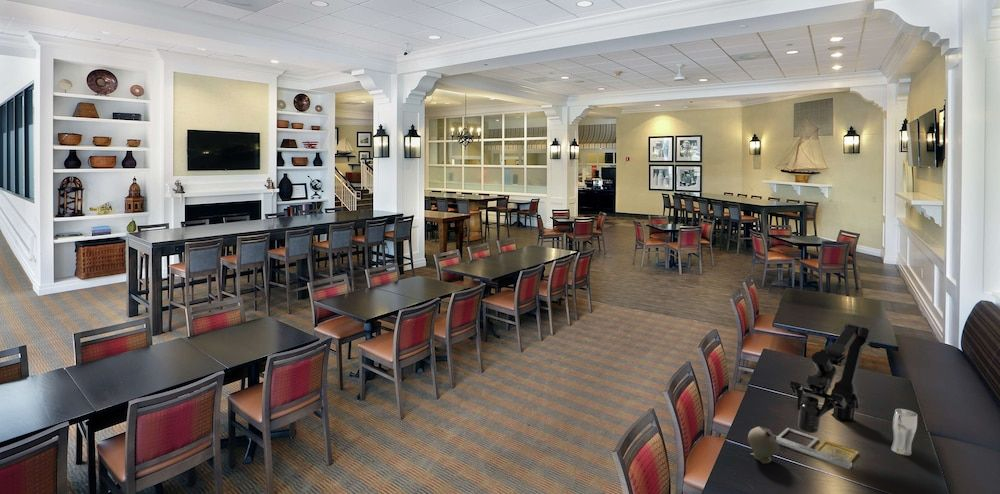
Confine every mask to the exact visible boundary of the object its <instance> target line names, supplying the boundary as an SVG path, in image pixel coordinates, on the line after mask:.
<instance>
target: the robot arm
mask: <svg viewBox="0 0 1000 494" xmlns="http://www.w3.org/2000/svg"><path fill="white" fill-rule="evenodd" d="M873 335H874V332H873V330H871V328H870V327H867V326H862V325H857V324H851V323H846V324H845V325H844V329H843V331H842V332H841V333H840V334H839V336H838V337H837V339H836V340H835V342H834V343H831V344H828V345H827V346H826V347H825V348H821V349H820V350H819V351H816V352H814V353H813V354H812V355H811V361H812V362H813V365H814V367H815V369H816V370H817V371H816V372H815V373H816V374H814V375H810V374H807V376H806V381H805V383H806V384H807V386H808V387H806V386H804V385H803V382H800V381H797V380H794V379H792V380H791V381H789V383H788V387H789V389H790V391H791V392H792V393H794V394H796V396H797V407H796V408H797V410H798V411H799V409H800V405H801V404H802V403H803V400H804V397H806V395H805V393H806V394H808V395H813V396H814V397H815V396H816V397H819V398H820V399H823V404H822V405H821V408H820V411H819V413H818V417H820V418H822V416H824V415H825V414H827V412H829V411H831V410H833V413H831V416H833V417H834V418H835V419H836V420H838V421H839V422H841V423H842V422H843V423H845V422H848V423H850V422H854V423H856V422H857V420H856V419H855V418H854V417H855V409H860V403H861V401H860V399H859V396H858V389H857V386H856V385H855V384H856V383H855V382H856V378H857V373H858V370H859V366H860V362H861V358H862V353H863V349H864V348H865V347H867V346H868V345H869V344H870V341H871V340H872V338H873ZM846 353H847V355H846ZM843 365H844V367H843V371H842V375H841V378H840V380H839V381H836V382H835V383H834V386H833V388H832V383H833V381H834V378H835V376H836V375H837V373H838V372H837V368H836V366H838V367H842V366H843ZM831 388H832V390H831V393H830V394H828V392H829V389H831Z"/></svg>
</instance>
